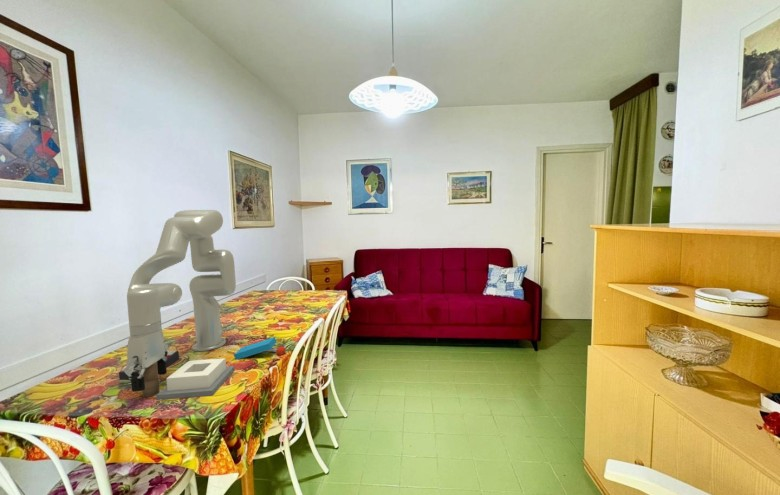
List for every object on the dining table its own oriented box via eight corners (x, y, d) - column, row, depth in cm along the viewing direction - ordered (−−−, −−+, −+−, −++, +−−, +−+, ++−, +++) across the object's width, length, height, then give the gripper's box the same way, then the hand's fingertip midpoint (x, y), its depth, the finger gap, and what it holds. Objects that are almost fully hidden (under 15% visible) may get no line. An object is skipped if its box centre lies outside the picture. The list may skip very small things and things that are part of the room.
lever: (239, 371, 114) (283, 357, 114) (233, 354, 113) (277, 340, 114) (247, 363, 121) (288, 349, 121) (241, 347, 120) (283, 334, 120)
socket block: (187, 373, 103) (186, 358, 102) (234, 370, 104) (233, 355, 104) (156, 399, 87) (154, 382, 86) (212, 395, 89) (211, 377, 88)
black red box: (117, 370, 99) (149, 350, 114) (119, 382, 100) (150, 360, 115) (151, 368, 100) (178, 348, 115) (152, 380, 101) (180, 358, 116)
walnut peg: (148, 390, 92) (146, 360, 92) (162, 389, 93) (160, 359, 92) (139, 398, 88) (136, 366, 88) (153, 396, 89) (151, 365, 88)
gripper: (152, 320, 97) (156, 369, 98) (108, 339, 80) (114, 399, 81) (176, 319, 98) (180, 367, 99) (138, 337, 81) (143, 396, 82)
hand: (150, 381), depth 90 cm, fingers open, 9 cm apart
